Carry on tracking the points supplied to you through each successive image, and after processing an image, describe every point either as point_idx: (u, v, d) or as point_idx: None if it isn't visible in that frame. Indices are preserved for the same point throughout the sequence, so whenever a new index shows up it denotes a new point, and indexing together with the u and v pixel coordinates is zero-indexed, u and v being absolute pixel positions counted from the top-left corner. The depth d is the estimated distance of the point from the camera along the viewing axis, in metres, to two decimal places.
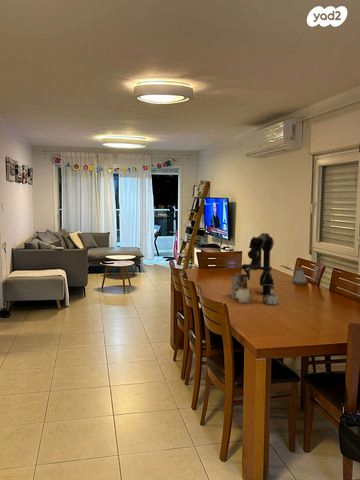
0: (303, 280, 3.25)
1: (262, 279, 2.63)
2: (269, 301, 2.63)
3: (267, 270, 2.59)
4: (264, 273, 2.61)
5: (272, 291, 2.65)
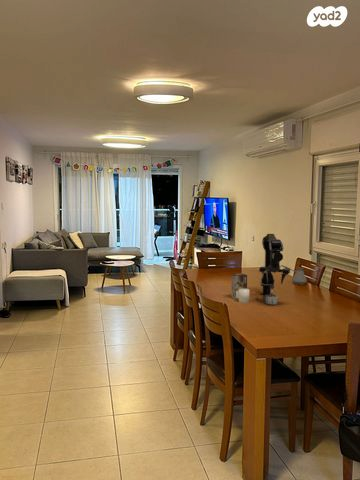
0: (303, 280, 3.25)
1: (281, 281, 2.62)
2: (269, 301, 2.63)
3: (286, 272, 2.58)
4: (283, 275, 2.60)
5: (272, 291, 2.65)
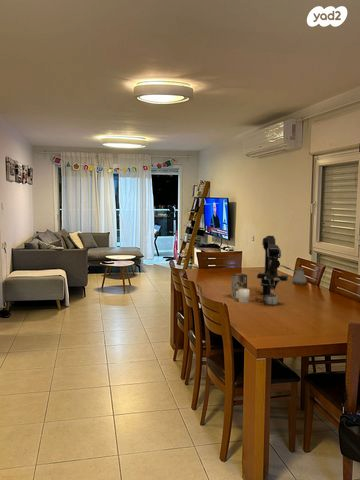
0: (303, 280, 3.25)
1: None
2: (269, 301, 2.63)
3: (284, 279, 2.58)
4: (275, 282, 2.61)
5: (272, 291, 2.65)
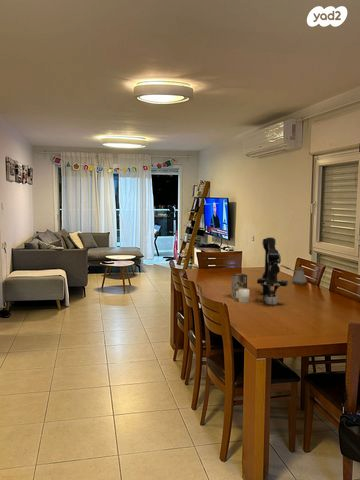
0: (303, 280, 3.25)
1: None
2: (269, 301, 2.63)
3: (283, 285, 2.58)
4: (275, 287, 2.62)
5: (272, 296, 2.65)
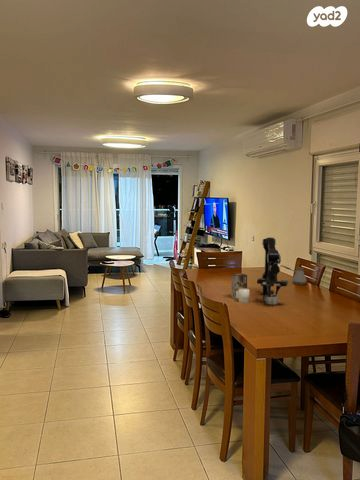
0: (303, 280, 3.25)
1: None
2: (269, 301, 2.63)
3: (283, 285, 2.58)
4: (277, 287, 2.61)
5: (272, 296, 2.65)
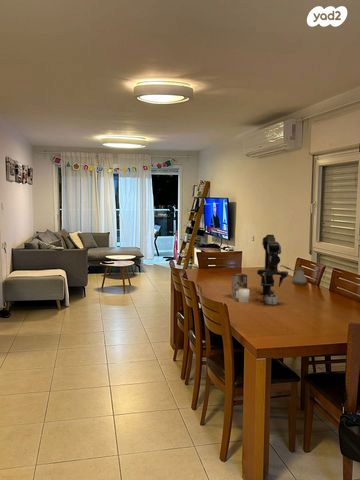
0: (303, 280, 3.25)
1: None
2: (269, 301, 2.63)
3: (284, 275, 2.57)
4: (281, 278, 2.59)
5: (272, 296, 2.65)
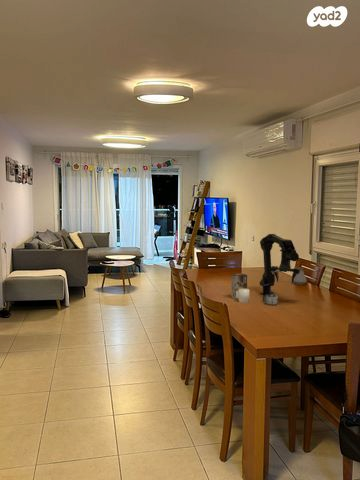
0: (303, 280, 3.25)
1: None
2: (269, 301, 2.63)
3: (296, 272, 2.63)
4: (293, 275, 2.65)
5: (272, 296, 2.65)
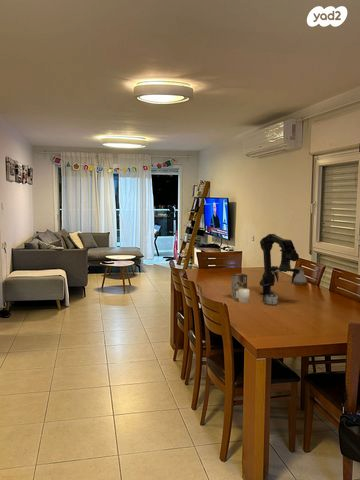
0: (303, 280, 3.25)
1: None
2: (269, 301, 2.63)
3: (296, 272, 2.63)
4: (293, 275, 2.65)
5: (272, 296, 2.65)
